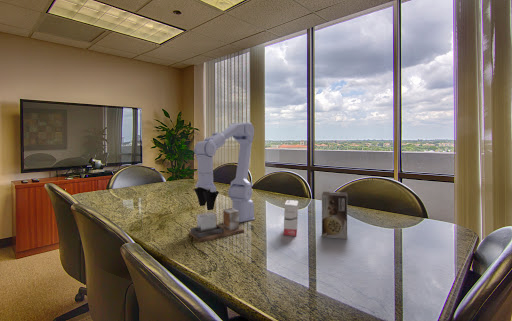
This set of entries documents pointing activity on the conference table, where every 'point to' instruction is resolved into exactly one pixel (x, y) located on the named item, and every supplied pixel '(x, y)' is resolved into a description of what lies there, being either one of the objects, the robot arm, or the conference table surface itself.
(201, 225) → the grey rectangular block
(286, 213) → the ink box
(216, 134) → the robot arm
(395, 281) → the conference table surface
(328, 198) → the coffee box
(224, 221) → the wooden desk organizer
